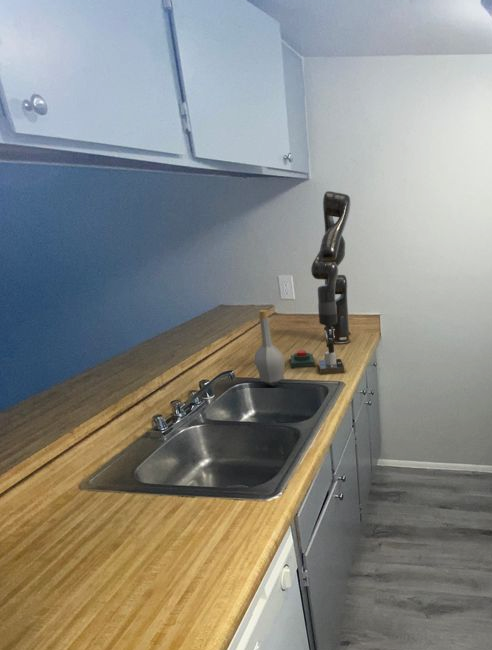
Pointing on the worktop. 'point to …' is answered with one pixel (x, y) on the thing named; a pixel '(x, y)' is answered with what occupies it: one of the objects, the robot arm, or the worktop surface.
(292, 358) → the dark green button base
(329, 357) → the dial
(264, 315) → the bottle
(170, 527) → the worktop surface
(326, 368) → the dial panel
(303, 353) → the nozzle button
